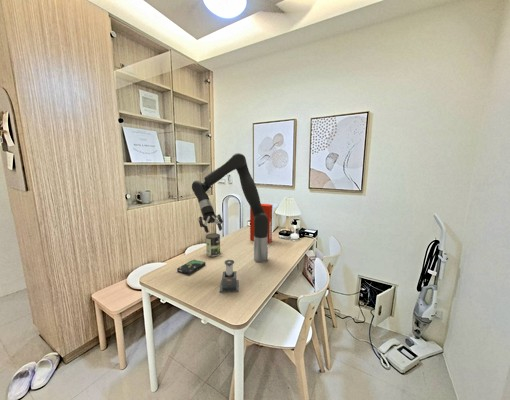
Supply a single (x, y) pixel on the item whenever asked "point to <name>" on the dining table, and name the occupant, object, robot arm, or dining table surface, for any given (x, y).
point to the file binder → (268, 212)
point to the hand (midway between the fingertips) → (214, 231)
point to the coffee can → (213, 244)
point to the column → (229, 268)
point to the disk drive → (191, 267)
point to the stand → (229, 283)
